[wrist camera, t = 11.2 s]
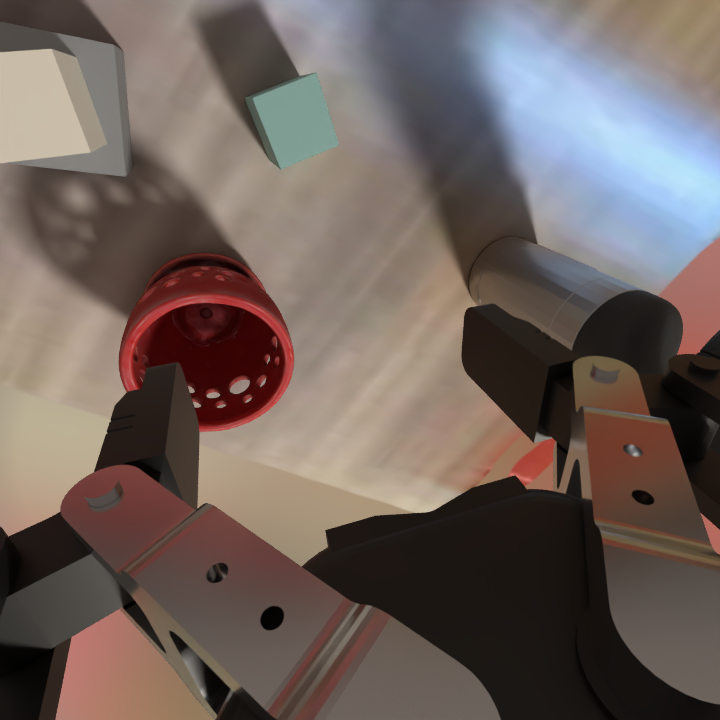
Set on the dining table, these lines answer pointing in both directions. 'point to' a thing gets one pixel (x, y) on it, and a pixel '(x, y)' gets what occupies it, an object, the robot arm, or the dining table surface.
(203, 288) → the plant pot
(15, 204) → the dining table surface
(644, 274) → the dining table surface
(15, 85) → the cream block
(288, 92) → the teal block
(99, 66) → the slate base block
